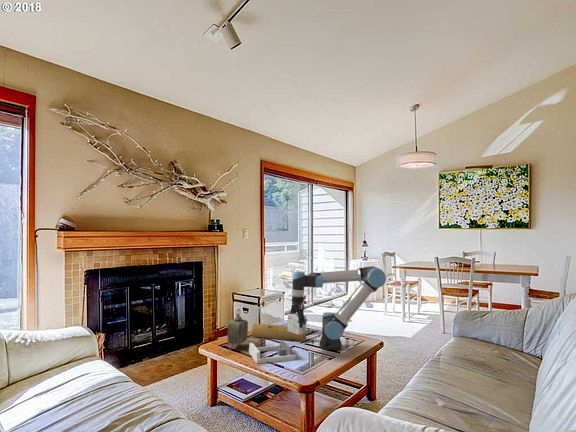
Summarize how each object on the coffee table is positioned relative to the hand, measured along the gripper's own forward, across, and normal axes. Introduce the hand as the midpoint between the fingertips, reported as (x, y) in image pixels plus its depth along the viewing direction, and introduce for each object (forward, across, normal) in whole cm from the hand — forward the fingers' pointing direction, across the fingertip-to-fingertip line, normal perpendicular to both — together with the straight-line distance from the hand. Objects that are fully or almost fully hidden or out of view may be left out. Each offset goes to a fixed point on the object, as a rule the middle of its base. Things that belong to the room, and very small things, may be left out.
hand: (296, 329), depth 226 cm
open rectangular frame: (+15, 0, -16) cm, 22 cm away
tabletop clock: (+15, -19, -33) cm, 42 cm away
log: (+15, -32, -1) cm, 35 cm away
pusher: (+14, 0, -9) cm, 17 cm away
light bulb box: (+2, 0, 0) cm, 2 cm away
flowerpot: (+15, -42, +18) cm, 48 cm away
